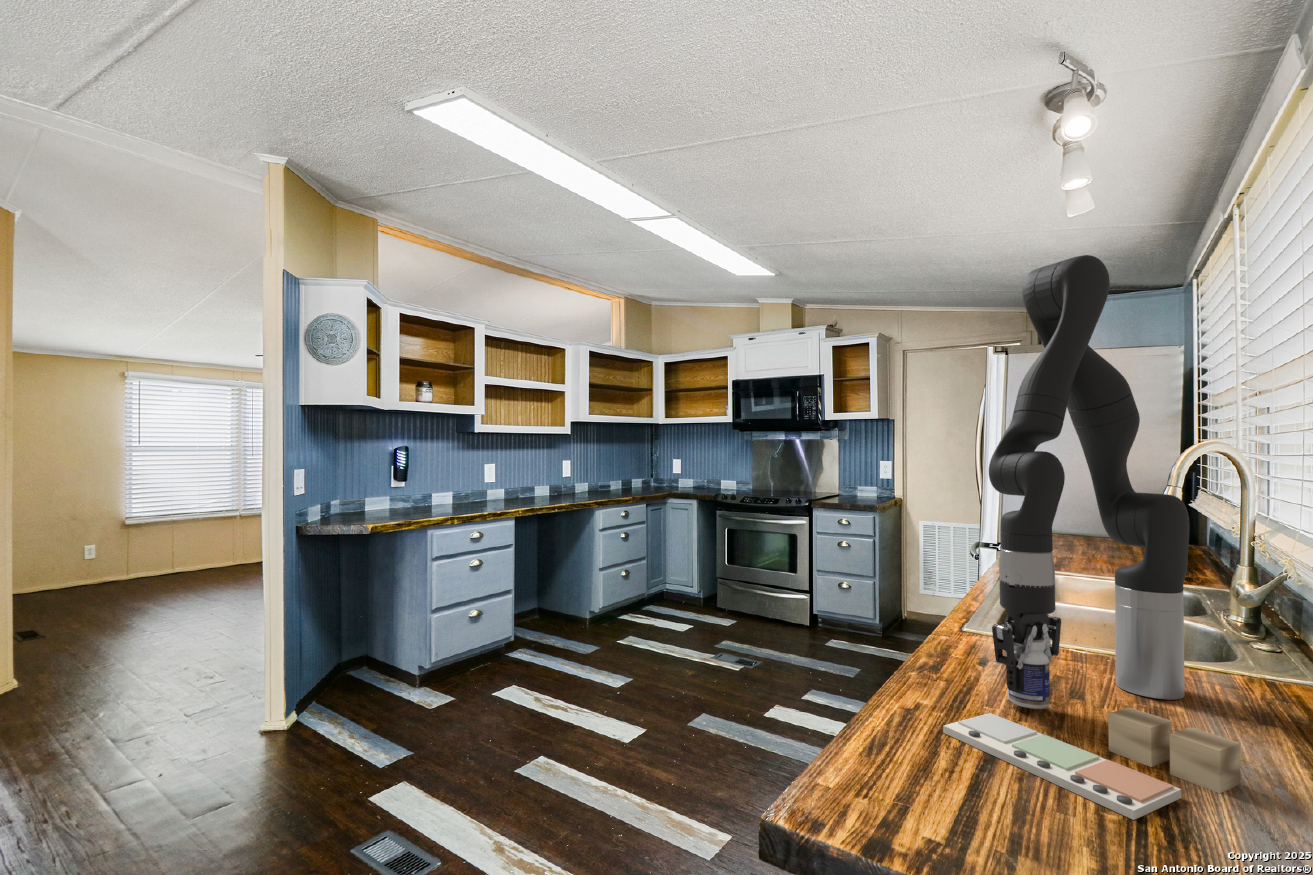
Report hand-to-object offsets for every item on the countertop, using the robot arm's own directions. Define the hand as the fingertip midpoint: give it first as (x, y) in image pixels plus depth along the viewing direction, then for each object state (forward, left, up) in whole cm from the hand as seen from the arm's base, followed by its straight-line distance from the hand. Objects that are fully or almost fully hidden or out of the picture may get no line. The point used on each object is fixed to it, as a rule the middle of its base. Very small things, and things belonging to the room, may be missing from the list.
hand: (1028, 687), depth 99 cm
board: (+14, +12, -3) cm, 19 cm away
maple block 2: (+1, +23, -4) cm, 23 cm away
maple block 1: (+1, +16, -4) cm, 16 cm away
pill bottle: (0, 0, -3) cm, 3 cm away
